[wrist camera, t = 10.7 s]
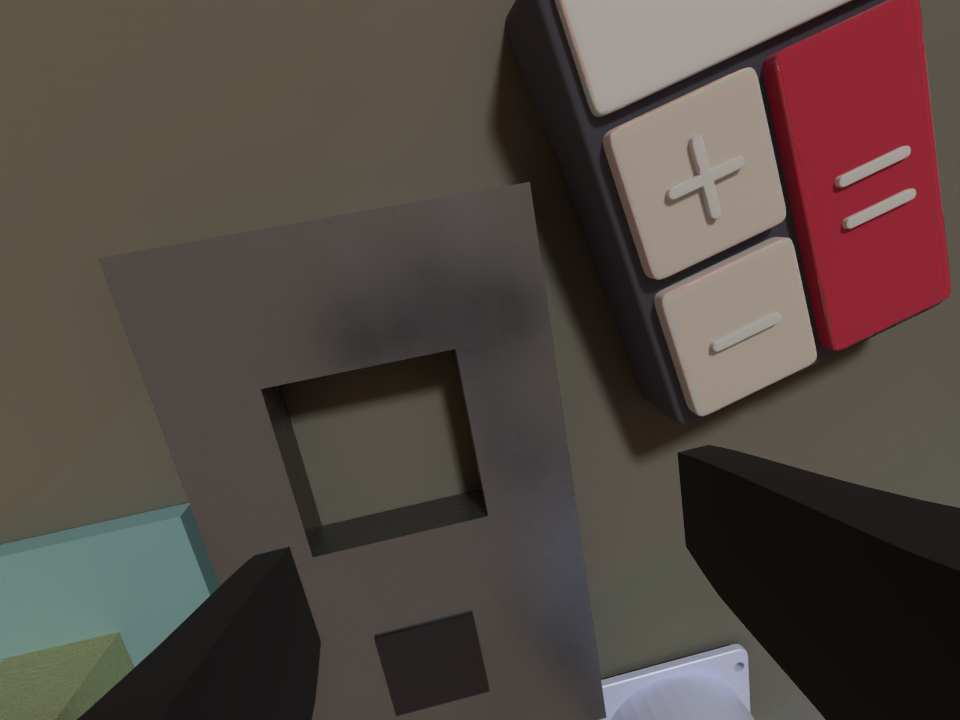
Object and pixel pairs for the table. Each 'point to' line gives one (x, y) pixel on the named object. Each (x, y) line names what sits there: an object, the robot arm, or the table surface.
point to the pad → (104, 583)
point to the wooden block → (62, 678)
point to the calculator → (742, 178)
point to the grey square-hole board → (400, 532)
